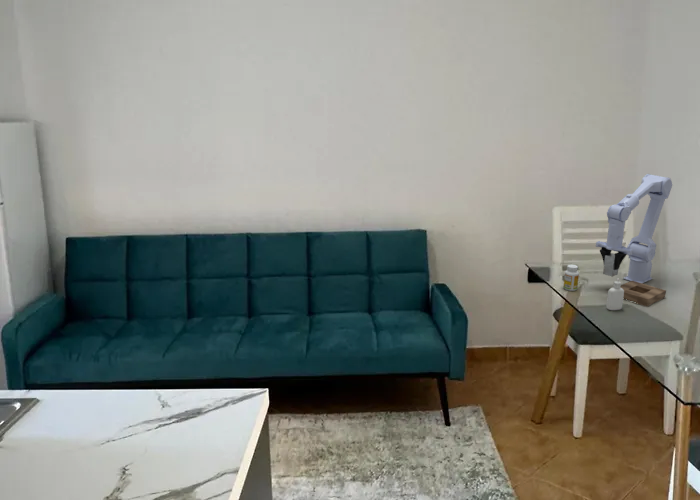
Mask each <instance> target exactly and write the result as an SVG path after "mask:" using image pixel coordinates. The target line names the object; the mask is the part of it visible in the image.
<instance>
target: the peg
mask: <svg viewBox="0 0 700 500" xmlns="http://www.w3.org/2000/svg"><path fill="white" fill-rule="evenodd" d="M614 267H615V253H612V252H611V253H610V254H607V255H605V262H604V263H603V271H602V274H603V275H605V276H609V277H612V278H613V277H614V276H617V275H618V274H619V269H617V270H615V269H614Z"/></svg>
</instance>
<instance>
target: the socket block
mask: <svg viewBox="0 0 700 500" xmlns="http://www.w3.org/2000/svg"><path fill="white" fill-rule="evenodd" d="M620 288H622V289H623V290H624V297H623V298H624V299H627V300H630V301H634V302H636V303H635V304H637V303H638V304H637V305H641V306H644V307H646V308H647V307H649V306H651V305H653V304H655V303H657V302H659V301H661V300H663V299H665V298H666V294H667V290H666V289H662V288H659V287H656V286H652V285H649V284H646V283H639V282H635V281H628V282H625V283H623V284H621V286H620ZM664 297H665V298H664ZM624 299H623V300H624ZM627 300H626V301H627ZM630 301H629V302H630Z"/></svg>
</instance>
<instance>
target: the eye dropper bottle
mask: <svg viewBox="0 0 700 500" xmlns="http://www.w3.org/2000/svg"><path fill="white" fill-rule="evenodd" d="M621 285H622V282H621V281H620V278H616V280H614V281H613V286H612V287H610V288H609V289H608V291H607V297H606V298H607V299H606V306H605V307H606V309H607V310H608V311H620V310H621V309H623V303H624V299H623V297H624V290H623V289H622V288H620V286H621Z"/></svg>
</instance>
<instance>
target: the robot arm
mask: <svg viewBox="0 0 700 500" xmlns="http://www.w3.org/2000/svg"><path fill="white" fill-rule="evenodd" d="M672 188H673V182H672V179H671V177H667V176H661V175H656V174H650V173H647V174H645V175H644V176H643V177H642V178H641V182H640V185H639V186H638V187H637V188H636V189H635V190H634V191H633V192H632V193H627V194H626V195H625V196H624V197H623V198H622V199H621V200H619V202H617V203H615V204H612V205H610V206H609V207H608V209H607V212H606V216H607V223H608V228H607V229H608V230H607V236H606V237H607V238H606V242H604V241H600V240H598V241H596V242H595V247H596V248H601V249H599V253H600V255H601V258H602V263H603V264H604V262H605V255H607V254H610V253H612V251H614V252H616V253H614V254H615V267H614V269H615V270H617V269H618V270H619V269H620V267H621V264H622V262H623V261H624V259H625V257H626V256H628V259H629V264H628V272H627V276H625V277H623V280H626V281H628V282H630V281H635V282H639V283H642V284H645V283H646V282H649V281H651V280H653V277H651V274H652V268H653V267H652V266H653V263H652V260H653V259H654V257H656V249H657V244H656V242H655V241H654V240H653V239H652V238H653V236H654V233H655V230H656V228H657V224H658V221H659V217H660V215H661V213H662V210H663V207H664V203H665V202H666V201H665V200H667V199H668V198H669V196H670V193H671V191H672ZM647 195H648V196H649V198H650V201H649V203H648V206H647V209H646V212H645V215H644V218H643V221H642V223H641V227H640V230H639V232H638V235H636V236H634V237H632V238H631V240H630V241H629V243H628V244H627V247H626V246H623V240H624V233H625V226H626V221H627V220H629V217H630V215H631V213H632V211H633V210H634V209H636V207H638V206H639V204H640V200H641V199H643V198H644V197H646V196H647Z"/></svg>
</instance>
